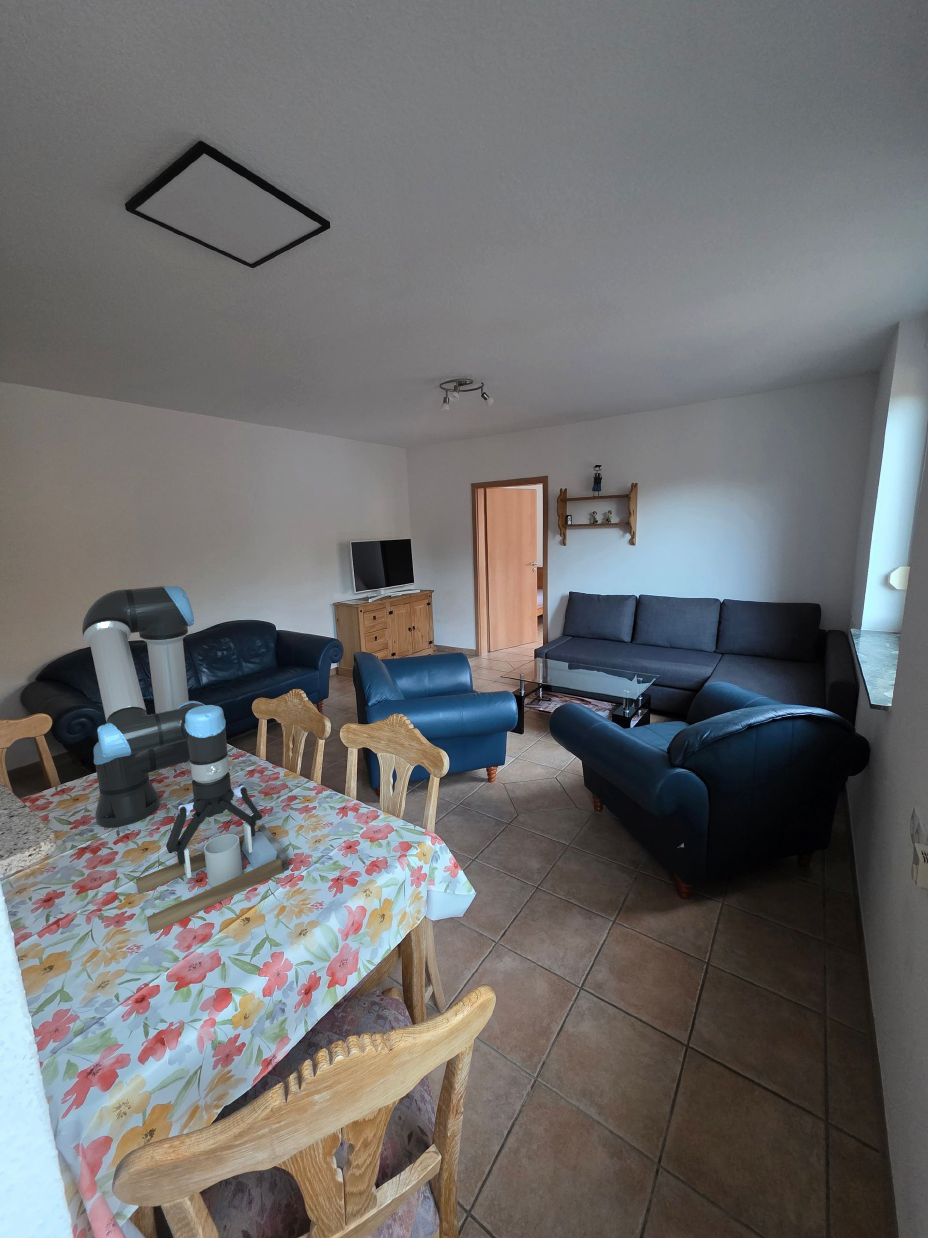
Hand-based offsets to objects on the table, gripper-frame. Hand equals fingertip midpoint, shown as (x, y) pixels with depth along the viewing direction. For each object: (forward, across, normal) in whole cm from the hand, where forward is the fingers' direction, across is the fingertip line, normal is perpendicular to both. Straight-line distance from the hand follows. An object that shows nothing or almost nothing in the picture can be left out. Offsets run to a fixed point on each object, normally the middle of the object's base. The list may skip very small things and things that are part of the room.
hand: (219, 861), depth 112 cm
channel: (+4, -1, 0) cm, 4 cm away
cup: (+4, +1, 0) cm, 4 cm away
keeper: (+3, +8, 0) cm, 9 cm away
